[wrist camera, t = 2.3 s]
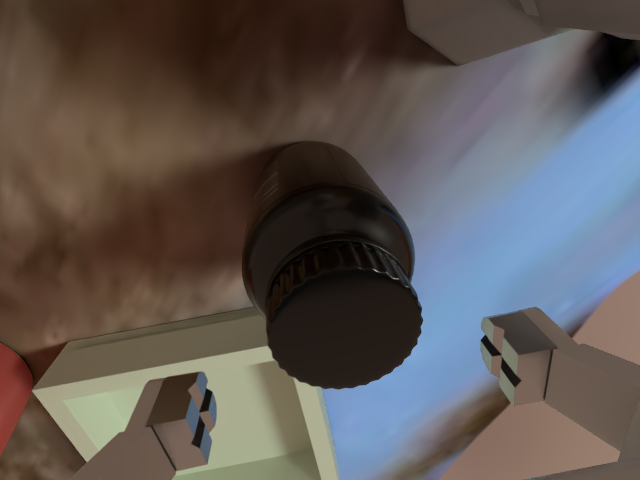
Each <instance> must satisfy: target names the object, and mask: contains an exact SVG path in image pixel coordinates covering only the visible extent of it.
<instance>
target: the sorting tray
mask: <svg viewBox="0 0 640 480" xmlns="http://www.w3.org/2000/svg"><path fill="white" fill-rule="evenodd" d="M199 371H202V372H204V373H205V375H206V377H207V379H208V383H207V387H206V388H207V389H209V390H211V391H212V392H213V394H214V396H215V400H216V405H217V418H216V424H215V427H214V428H213V429H212V430H211V432H210V433H209V435H210V437H211V439H212V445H211V450H210V455H209V460H208V464H207V465H203V466H198V467H194V468H189V469H185V470H180V471H176V475H175V476H174V477H173V479H172V480H339V476H338V468H337V461H336V453H335V446H334V440H333V436H332V432H331V427H330V423H329V418H328V414H327V410H326V405H325V401H324V396H323V392H322V388H321V387H313V386H310V385H308V384H307V383H302V382H299V381H298V380H297V379H296V378H294V377H291V376H288V374H287V373H286V371H285V370H283V369H281V368H279V365H278V362H277V361H276V360H274V359H273V358H272V354H271V350H270V348H269V347H268V344H267V334H266V320H265V319H264V318H263V317H262V316H261V314H260V313H259V312H258V311H257V310H256V308H255V307H252V308H247V309H241V310H236V311H231V312H225V313H220V314H215V315H209V316H204V317H199V318H193V319H188V320H183V321H177V322H172V323H167V324H161V325H156V326H151V327H145V328H140V329H135V330H129V331H124V332H119V333H113V334H108V335H103V336H97V337H92V338H87V339H82V340H76V341H71V342H68V343H67V344H66V346H65V347H64V348H63V350H62V351H61V352H60V354H59V355H58V356H57V358H56V359H55V360H54V362H53V363H52V364H51V366H50V367H49V368H48V370H47V371H46V372H45V374H44V375H43V376H42V377H41V379H40V380H39V381H38V383H37V384H36V385H35V387H34V388H33V389H32V392H33V393H34V394H35V395H36V397H37V398H38V399H39V401H40V402H41V403H42V405H43V406H44V407H45V408H46V410H47V411H48V412H49V414H50V415H51V416H52V418H53V419H54V420H55V421H56V423H57V424H58V425H59V427H60V428H61V429H62V431H63V432H64V433H65V435H66V436H67V437H68V438H69V440H70V441H71V442H72V444H73V445H74V446H75V448H76V449H77V450H78V451H79V453H80V454H81V455H82V457H83V458H84V459H85V461H86V462H88V461H89V460H90V459H91V458H92V457H93V456H94V455H95V454H97V453H98V452H99V451H100V450H101V449H102V448H103V447H104V446H105V445H106V444H107V443H108V442H109V441H110V440H111V439H112V438H114V437H115V436H116V435H117V434H118V433H119V432H124V431H125V429H126V427H127V424H128V422H129V420H130V418H131V415H132V413H133V411H134V409H135V406H136V404H137V402H138V400H139V397H140V395H141V393H142V391H143V388H144V386H145V384H146V383H147V382H148V381H149V380H153V379H159V378H166V377H169V376H175V375H181V374H187V373H193V372H199Z"/></svg>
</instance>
